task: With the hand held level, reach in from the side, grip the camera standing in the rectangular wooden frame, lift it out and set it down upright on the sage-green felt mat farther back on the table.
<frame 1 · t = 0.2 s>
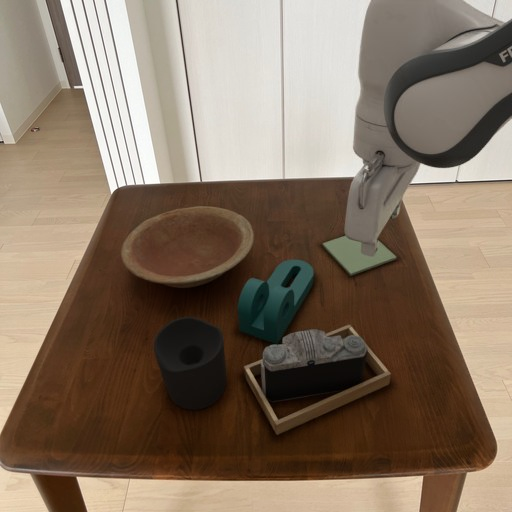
hand: (380, 233, 68), 20 cm above the table, tool pointing down, fingers open, 8 cm apart
pen holder: (197, 386, 75), on the table
bracket: (281, 302, 88), on the table
mat: (358, 252, 97), on the table
camera: (310, 378, 75), resting in rectangular wooden frame
bowl: (192, 271, 95), on the table
rectangular wooden frame: (315, 380, 75), on the table
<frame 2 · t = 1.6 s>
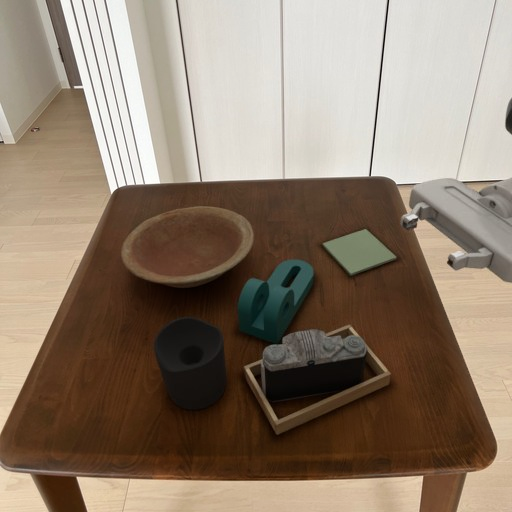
hand: (426, 242, 67), 20 cm above the table, tool horizontal, fingers open, 8 cm apart
nothing on the table moved.
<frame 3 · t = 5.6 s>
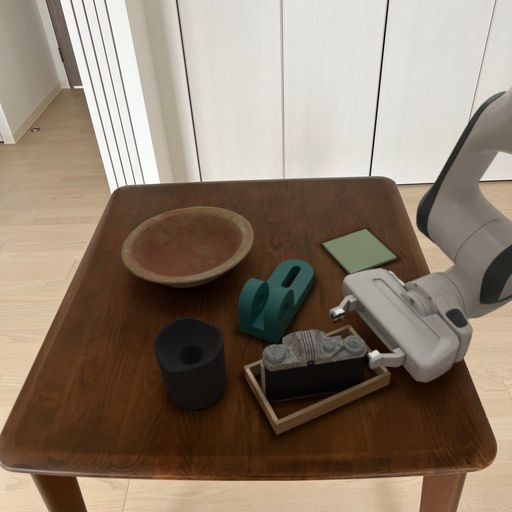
hand: (349, 338, 72), 7 cm above the table, tool horizontal, fingers open, 8 cm apart
camera: (310, 378, 75), resting in rectangular wooden frame, touching gripper
everything else where it was.
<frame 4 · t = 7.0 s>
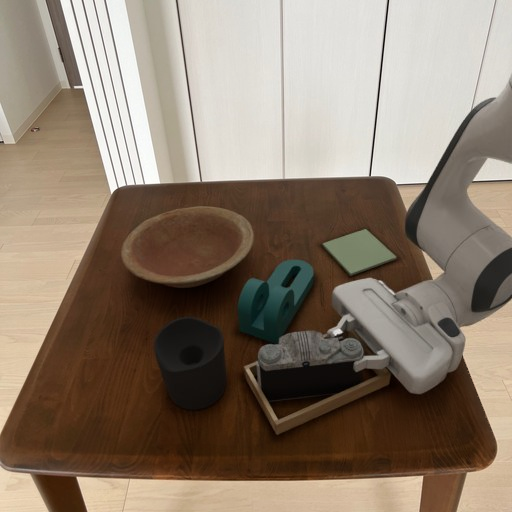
hand: (340, 351, 71), 6 cm above the table, tool horizontal, fingers closed on camera, 4 cm apart
camera: (307, 379, 75), resting in rectangular wooden frame, touching gripper
everything else where it was.
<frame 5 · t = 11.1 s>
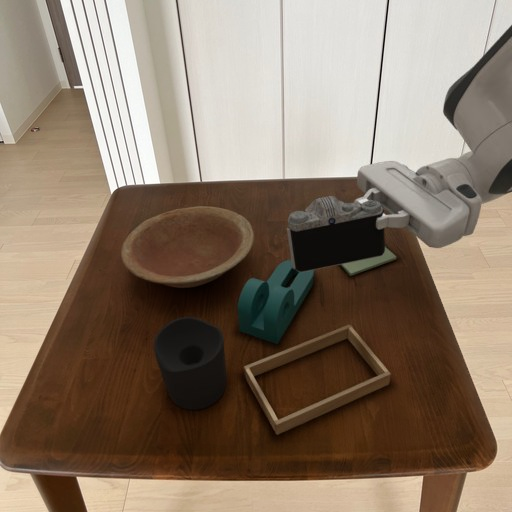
hand: (365, 214, 77), 17 cm above the table, tool horizontal, fingers closed on camera, 3 cm apart
camera: (336, 255, 81), point 10 cm above the table, touching gripper
everything else where it was.
when the fingers open (8 cm above the table, at t = 15.0 s): camera moves 1 cm, resting on mat.
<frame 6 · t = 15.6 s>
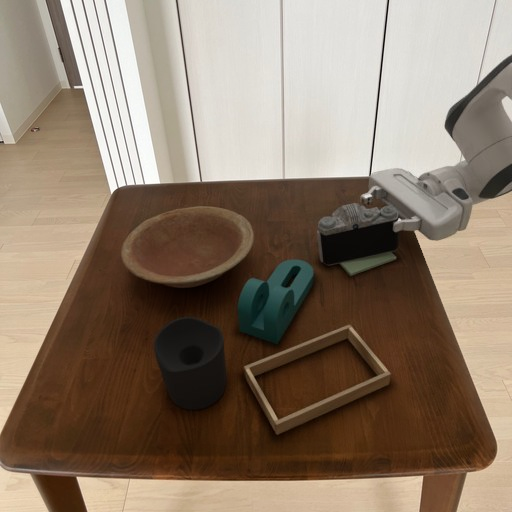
hand: (376, 213, 93), 8 cm above the table, tool horizontal, fingers open, 8 cm apart
camera: (356, 248, 96), point 1 cm above the table, touching gripper, mat
everything else where it was.
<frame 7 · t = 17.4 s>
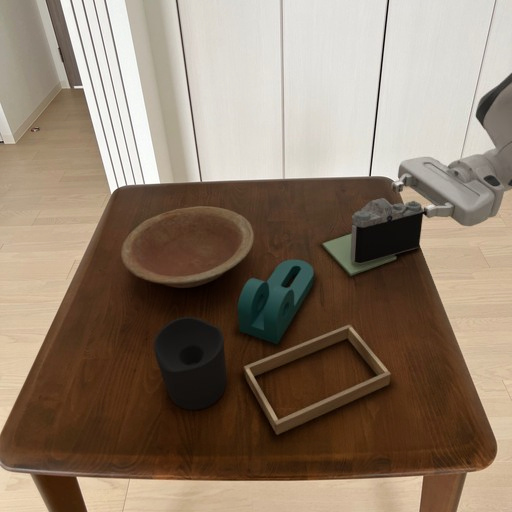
hand: (408, 199, 95), 9 cm above the table, tool horizontal, fingers open, 8 cm apart
camera: (379, 249, 96), point 1 cm above the table, touching mat
everything else where it was.
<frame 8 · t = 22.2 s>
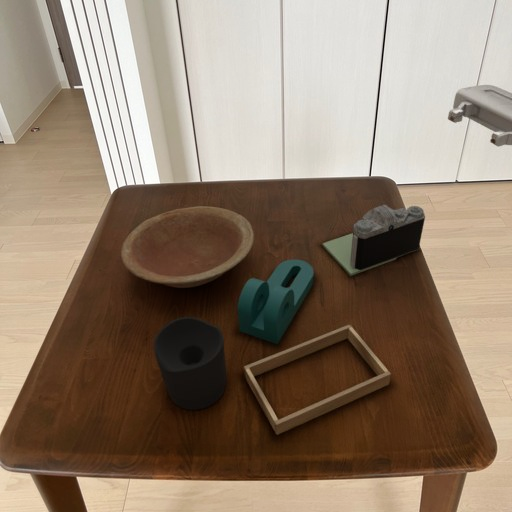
hand: (472, 127, 80), 25 cm above the table, tool horizontal, fingers open, 8 cm apart
at the end: camera inside the target area on the mat (3.9 cm from its centre), point 0.4 cm above the mat's base; camera tilted 0°; the gripper is holding nothing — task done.
